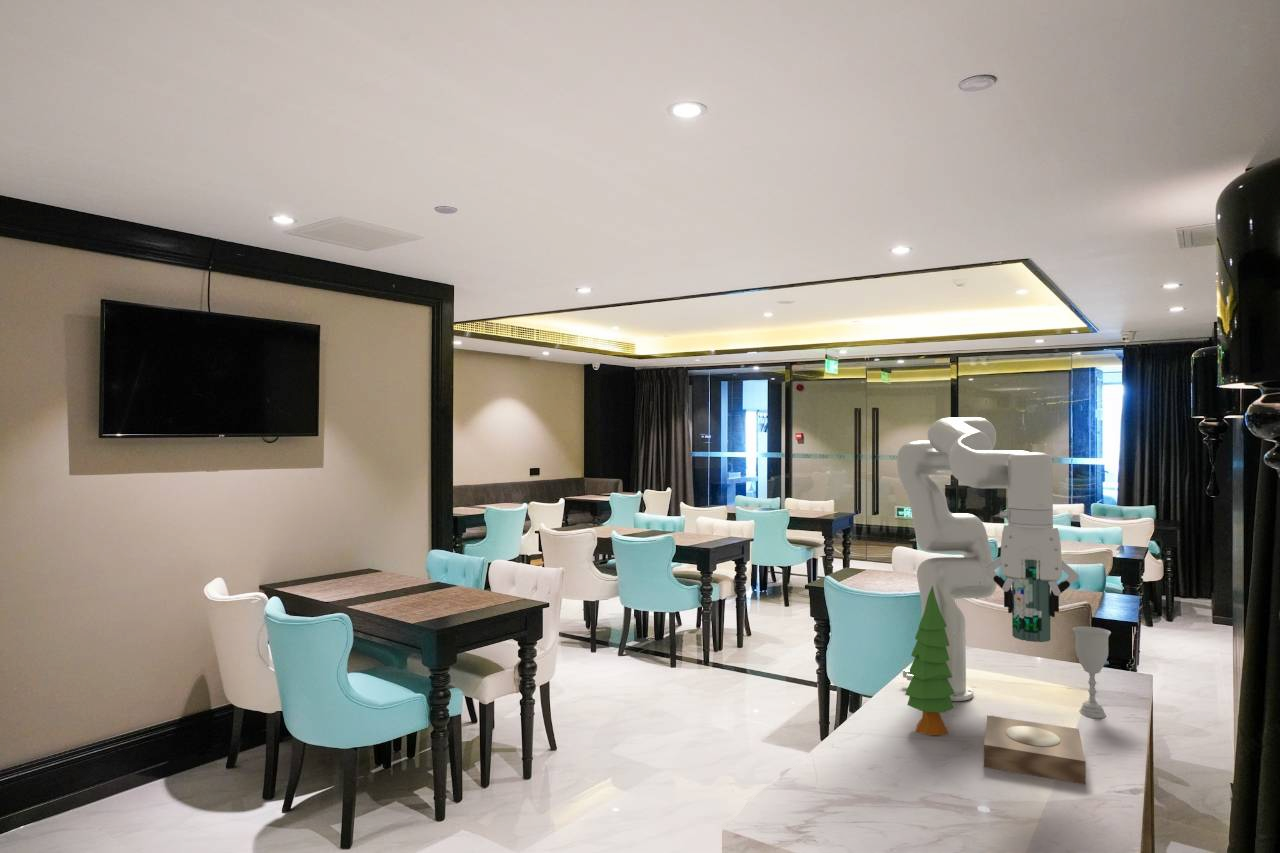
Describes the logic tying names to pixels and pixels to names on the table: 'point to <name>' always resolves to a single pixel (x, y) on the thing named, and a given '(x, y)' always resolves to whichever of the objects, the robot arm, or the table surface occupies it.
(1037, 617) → the can
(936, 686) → the decorative tree
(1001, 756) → the walnut base
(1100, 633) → the chalice
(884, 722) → the table surface
